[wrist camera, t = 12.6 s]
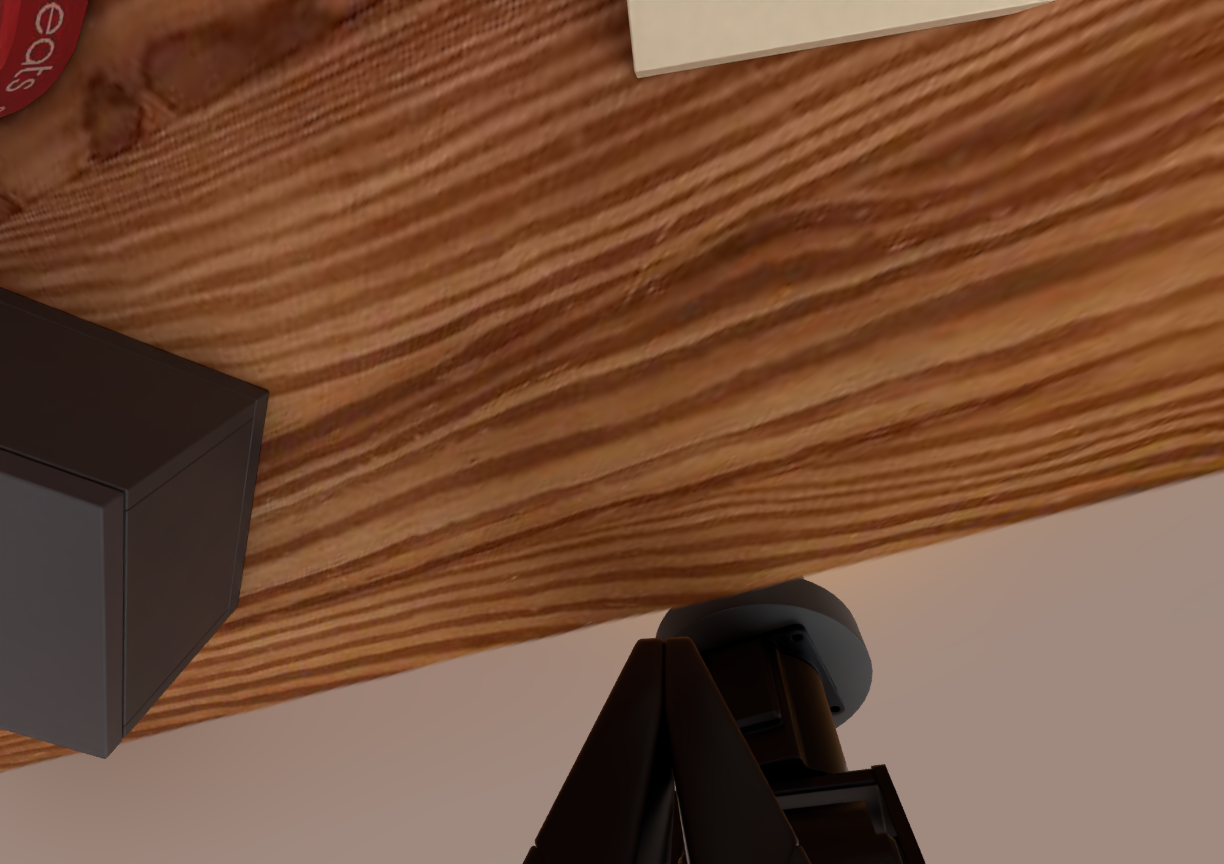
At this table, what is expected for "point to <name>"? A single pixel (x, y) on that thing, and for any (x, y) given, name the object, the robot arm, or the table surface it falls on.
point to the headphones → (35, 47)
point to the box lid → (60, 607)
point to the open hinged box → (141, 472)
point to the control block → (781, 26)
